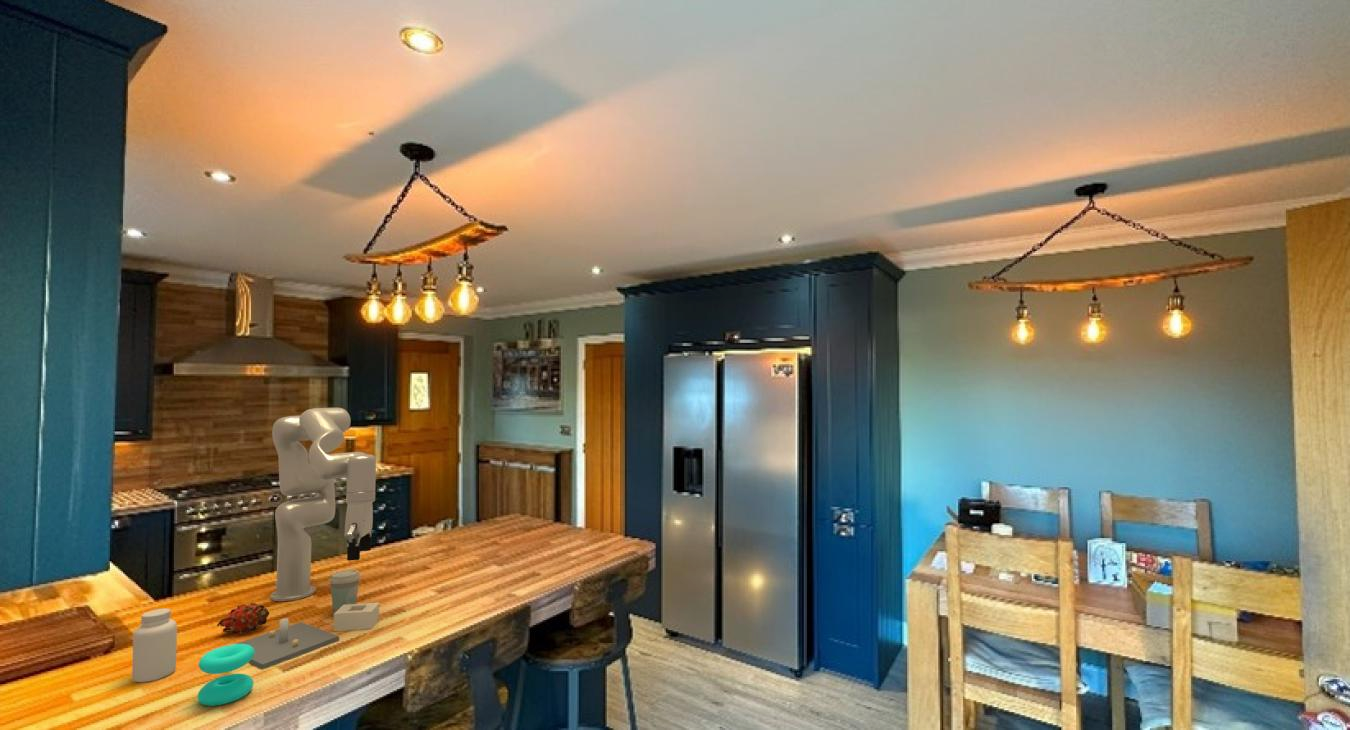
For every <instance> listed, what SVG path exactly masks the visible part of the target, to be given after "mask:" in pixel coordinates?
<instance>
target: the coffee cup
mask: <svg viewBox="0 0 1350 730" xmlns="http://www.w3.org/2000/svg"><path fill="white" fill-rule="evenodd" d="M360 580H361V574H360V571H359V570H357V569H353V568H352V569H351V568H350V569H342V570H338V571H335V572H333V573H332V574H331V575H330V577H329V581H328V582H329V584H330V592H331V593H330V594H331V604H332V613H333V615H334V613H335V612H336V611H337V610H338V609H339V608H340V607H342V606H343V605H347V604H357V598H358V591H359V585H360Z"/></svg>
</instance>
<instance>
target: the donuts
mask: <svg viewBox="0 0 1350 730" xmlns="http://www.w3.org/2000/svg"><path fill="white" fill-rule="evenodd" d="M253 656H254V649H253V647H252V646H250V645H247V644H236V643H233V644H229V645H223V646H221V647H217V648H215V649H212V650H209V651H208V652H206V653H205V654H204V655H203V656H201V657H200V659H199V660H198V668H199V670H200V671H202V672H203V673H205V674H207V675H208V674H209V675H220V674H225V673H230V672H234V671H236V670H238V669H241V668H243V667H244V666H246V665H247V664H249V663H248V662H249V661H250V660H251V659H252V658H253ZM253 687H254V679H253V678H252V677H251V676H250V675H248V674H245V673H230V674H226V675H222V676H218V677H216V678H213V679H212V680H211V681H208V682H207V683H206V684H204V685H203V686H202V687H201V688H200V690H199V691H198V693H197V701H198V702H199V704H201V705H204V706H208V707H210V706H211V707H212V706H213V707H215V706H220V705H226V704H229V703H233V702H235V701H237V700H240V699H242V698H243V697H245V696H246V695H247V694H248V693H250V692H251V691H252V689H253Z"/></svg>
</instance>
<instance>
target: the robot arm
mask: <svg viewBox="0 0 1350 730" xmlns="http://www.w3.org/2000/svg"><path fill="white" fill-rule="evenodd" d="M350 426H351V416H350V414H349V412H348V411H347V410H346V409H344V408H342V407H313V408H310V409H306V410H305V411H304V412H302V413H301V414H300V415H289V416H284V417H280V418H278V419H276V421H275V422H274V423H273V426H272V432H271V433H272V441H273V444H274V447H275V450H276V453H277V455H278V456H277V458H278V477H279V478H278V479H279V480H278V482H279V483H278V484H279V490H280V492H281V494H282V495H284V496H287V497H294V496H302V495H310V494H315V496H314V497H307V498H306V497H305V498H299V499H292V500H287V501H285V502H283V503H281V504H279V505H278V506H277V507H276V509H275V514H274V518H275V524H276V531H277V533H276V534H277V552H276V553H277V556H276V559H277V561H276V581H275V582H274V586H276V587H275V588H276V590H275V591H273V592H272V593H270V595H269V596H270V600H271V601H273V602H291V601H296V600H301V599H305V598H307V597H310V596H312V595H314V594H315V593H316V587H315V586H314V585H311V568H312V566H311V565H312V538H311V536H310V535H309V533H307V532H306V531H305V528H308V527H313V526H319V525H323V524H327V523H330V522H331V521H332V520H333V519H334V518H335V515H336V495H335V493H336V492H335V490H336V489H335V488H336V487H335V480H337V479H343V478H346V493H345V494H346V495H345V496H346V498H345V499H346V500H345V503H346V505H347V507H346V513H345V522H344V523H345V524H344V535H343V536H344V538H345V539H347V540H346V543H347V545H346V546H347V547H346V548H347V549H346V551H347V552H346V554H347V555H346V560H347V562H348V561H349V562H350V561H359V560H360V558H361V552H367V551H371V550H372V535H373V534H372V529H373V524H374V523H373V522H374V520H373V519H374V514H373V513H374V512H373V511H374V510H373V508H374V505H373V503H374V502H375V501H376V479H377V478H376V477H377V475H376V474H377V473H376V469H377V459H376V456H375V455H374V454H368V453H366V452H363V451H352V452H339V453H338V452H336V453H331V452H333V451H335V450H336V449H338V448H339V447H340V446H341V445H342V443H343V442H344V438H345V437H344V436H345V435H344V433H345V432H346V431H348V430H349V428H350ZM301 441H311V442H312V444H311V445H310V448H309V450H307V449H306V447H305V446H304V445H303V444H302V443H301Z"/></svg>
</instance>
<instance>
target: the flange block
mask: <svg viewBox="0 0 1350 730" xmlns="http://www.w3.org/2000/svg"><path fill="white" fill-rule="evenodd" d="M379 620H380V602H366V603H356V604H347V605H343V606H342V607H340V608H339V609H338V610H337V611H336V612H335V613H334V614H333V632H344V631H345V632H348V631H358V630H359V631H361V630H362V631H363V630H372V629H373V627H374V626H375V625H376V624H377V622H378V621H379Z"/></svg>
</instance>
